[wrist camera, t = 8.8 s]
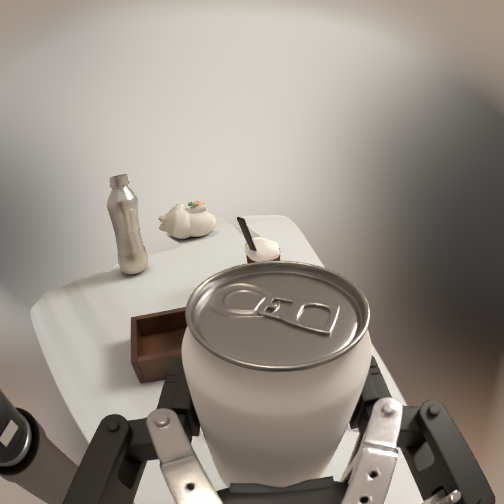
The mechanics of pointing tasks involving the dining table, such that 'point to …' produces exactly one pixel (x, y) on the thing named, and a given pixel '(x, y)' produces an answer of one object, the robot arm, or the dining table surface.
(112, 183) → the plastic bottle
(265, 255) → the cocoa
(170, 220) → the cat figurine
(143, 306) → the dining table surface
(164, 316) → the tray
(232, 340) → the can
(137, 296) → the dining table surface
